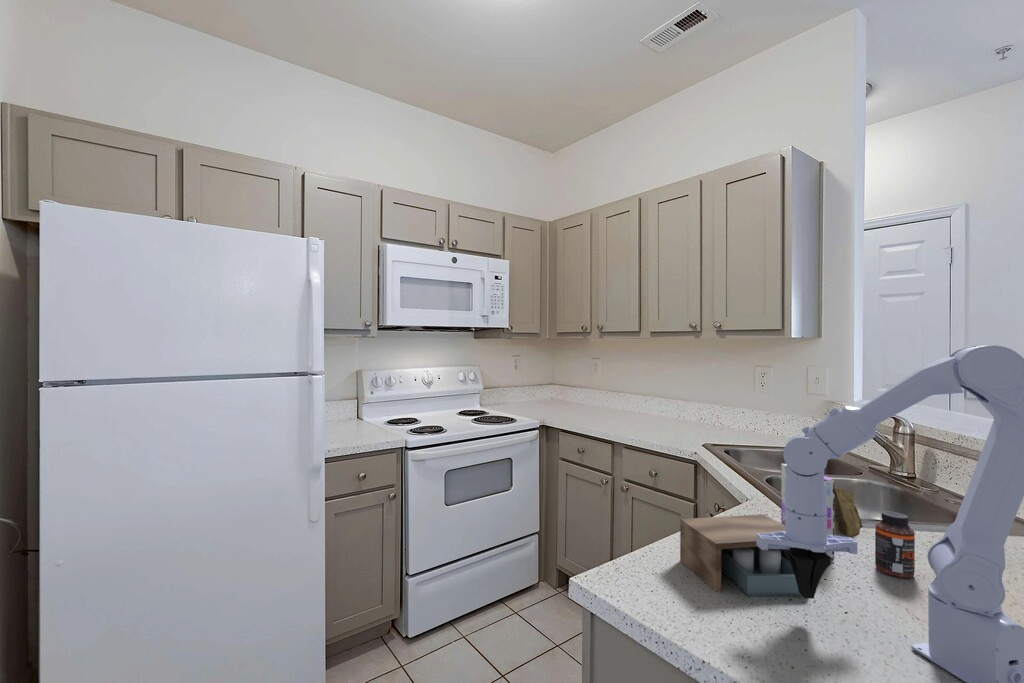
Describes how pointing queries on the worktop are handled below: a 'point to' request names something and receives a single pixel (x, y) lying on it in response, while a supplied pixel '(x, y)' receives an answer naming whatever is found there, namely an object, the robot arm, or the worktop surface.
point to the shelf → (719, 541)
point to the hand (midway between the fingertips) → (806, 595)
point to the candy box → (830, 504)
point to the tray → (760, 579)
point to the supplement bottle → (895, 545)
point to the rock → (845, 513)
